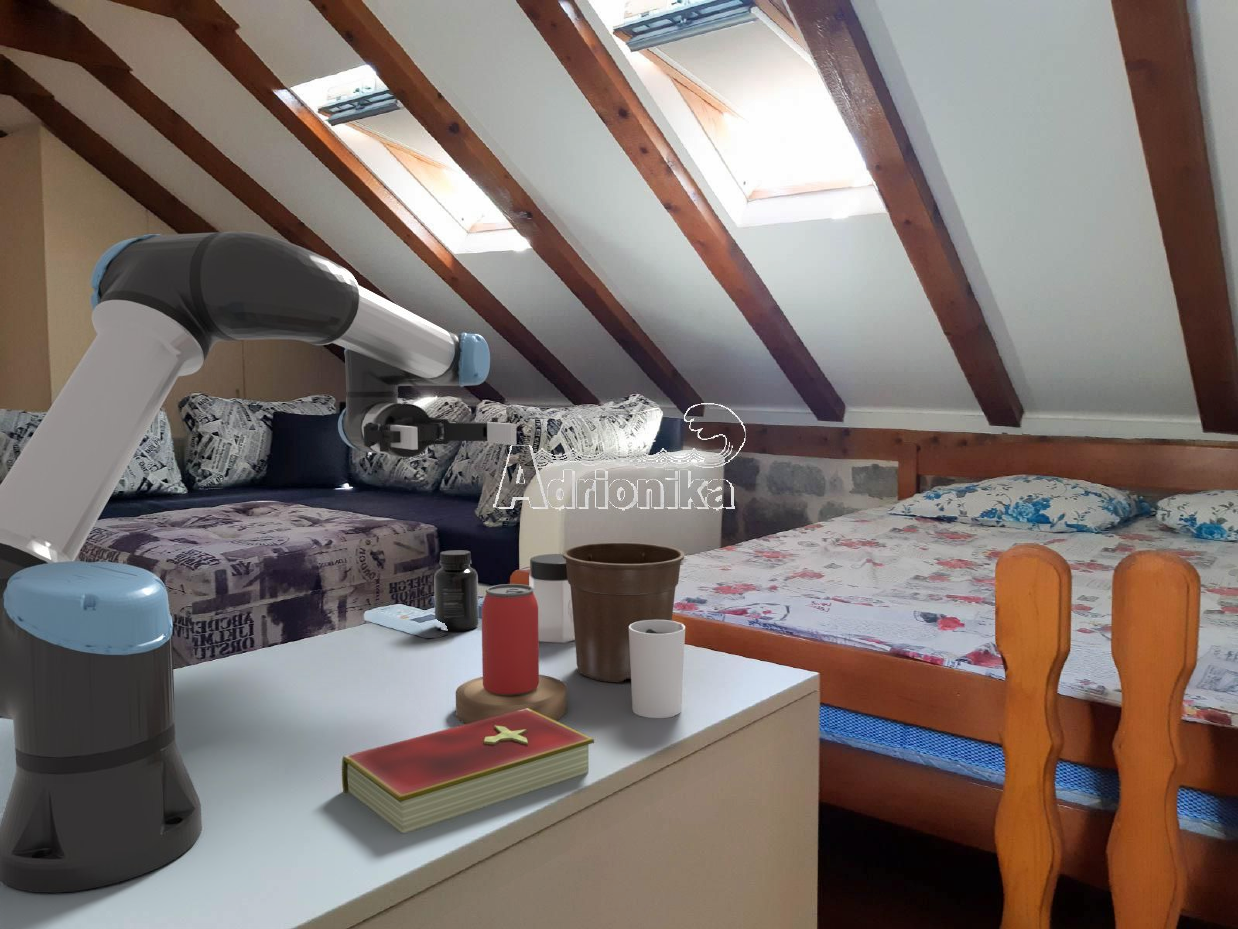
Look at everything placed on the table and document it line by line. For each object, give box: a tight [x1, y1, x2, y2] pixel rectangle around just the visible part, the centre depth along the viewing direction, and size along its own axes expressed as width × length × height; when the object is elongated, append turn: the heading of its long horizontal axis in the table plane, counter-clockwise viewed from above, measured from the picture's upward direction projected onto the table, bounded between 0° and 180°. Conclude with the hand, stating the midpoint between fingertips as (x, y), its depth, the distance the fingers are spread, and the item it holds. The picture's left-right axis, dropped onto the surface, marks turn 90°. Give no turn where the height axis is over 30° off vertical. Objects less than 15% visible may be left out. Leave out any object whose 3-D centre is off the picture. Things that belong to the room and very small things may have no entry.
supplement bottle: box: [433, 549, 480, 633], centre depth 151 cm, size 7×7×12 cm
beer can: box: [481, 583, 540, 696], centre depth 112 cm, size 7×7×12 cm
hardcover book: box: [341, 708, 595, 834], centre depth 93 cm, size 12×21×4 cm, turn 130°
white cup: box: [629, 620, 686, 719], centre depth 112 cm, size 7×7×10 cm
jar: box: [528, 553, 575, 644], centre depth 145 cm, size 9×8×12 cm
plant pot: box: [561, 542, 685, 683], centre depth 128 cm, size 16×16×16 cm
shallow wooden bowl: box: [455, 673, 568, 725], centre depth 113 cm, size 13×13×2 cm
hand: (466, 436), depth 119 cm, fingers open, 13 cm apart
